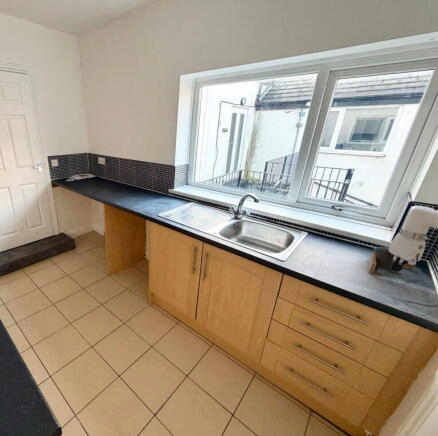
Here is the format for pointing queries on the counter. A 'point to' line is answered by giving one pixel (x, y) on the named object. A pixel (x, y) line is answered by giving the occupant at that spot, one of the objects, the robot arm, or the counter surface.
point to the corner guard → (373, 264)
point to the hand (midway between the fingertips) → (395, 270)
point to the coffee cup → (383, 257)
